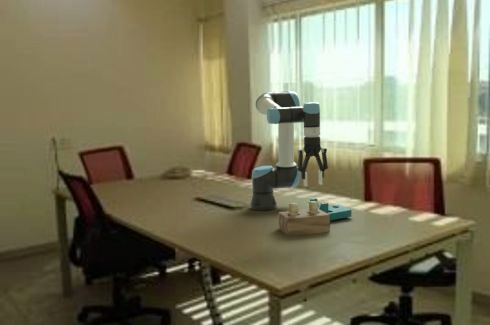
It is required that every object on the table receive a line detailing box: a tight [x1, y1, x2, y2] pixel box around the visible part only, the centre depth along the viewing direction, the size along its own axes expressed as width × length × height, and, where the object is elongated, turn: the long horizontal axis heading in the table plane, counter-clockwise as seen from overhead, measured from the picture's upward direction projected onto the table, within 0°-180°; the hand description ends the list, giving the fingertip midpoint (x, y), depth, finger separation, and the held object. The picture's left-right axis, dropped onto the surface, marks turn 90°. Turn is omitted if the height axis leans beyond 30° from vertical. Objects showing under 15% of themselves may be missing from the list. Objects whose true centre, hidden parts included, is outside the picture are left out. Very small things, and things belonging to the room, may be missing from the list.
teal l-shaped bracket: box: [309, 197, 352, 221], centre depth 267 cm, size 18×11×10 cm, turn 117°
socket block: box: [278, 208, 331, 237], centre depth 248 cm, size 14×20×8 cm
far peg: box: [308, 200, 319, 214], centre depth 249 cm, size 4×4×8 cm
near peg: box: [288, 202, 299, 216], centre depth 246 cm, size 4×4×8 cm
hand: (313, 185), depth 247 cm, fingers open, 7 cm apart
